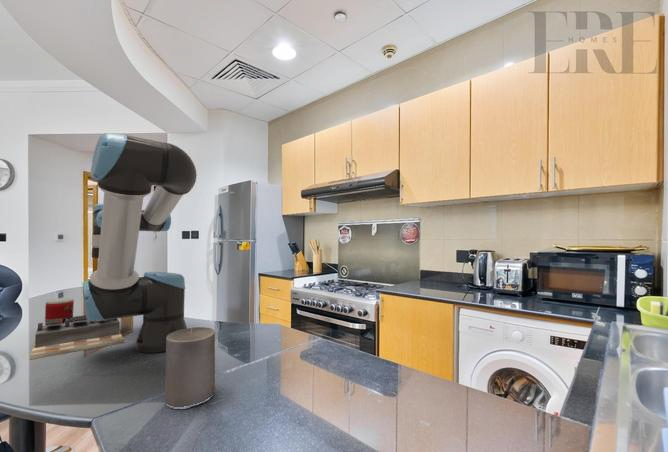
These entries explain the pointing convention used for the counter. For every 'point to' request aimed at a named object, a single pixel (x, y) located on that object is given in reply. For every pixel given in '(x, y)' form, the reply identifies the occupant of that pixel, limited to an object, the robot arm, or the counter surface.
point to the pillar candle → (190, 366)
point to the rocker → (54, 321)
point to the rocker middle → (79, 318)
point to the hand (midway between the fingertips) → (102, 312)
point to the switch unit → (75, 337)
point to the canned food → (59, 309)
